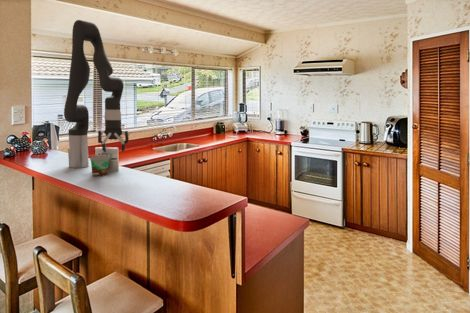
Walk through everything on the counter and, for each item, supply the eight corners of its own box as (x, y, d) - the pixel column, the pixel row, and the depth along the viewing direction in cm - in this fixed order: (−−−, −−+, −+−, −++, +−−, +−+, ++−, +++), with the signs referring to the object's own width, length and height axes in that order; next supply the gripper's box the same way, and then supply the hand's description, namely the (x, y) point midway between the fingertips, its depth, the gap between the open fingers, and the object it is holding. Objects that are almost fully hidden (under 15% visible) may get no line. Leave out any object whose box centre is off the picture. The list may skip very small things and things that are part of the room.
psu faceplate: (95, 171, 183) (95, 148, 181) (96, 170, 185) (95, 147, 183) (118, 171, 185) (117, 148, 183) (118, 170, 187) (118, 147, 185)
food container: (102, 177, 170) (102, 156, 168) (90, 176, 171) (90, 156, 169) (114, 172, 182) (114, 152, 180) (103, 171, 183) (102, 152, 181)
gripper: (129, 118, 180) (129, 150, 182) (99, 118, 177) (100, 150, 180) (127, 119, 172) (127, 152, 175) (96, 119, 170) (97, 152, 173)
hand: (113, 151), depth 177 cm, fingers open, 8 cm apart
